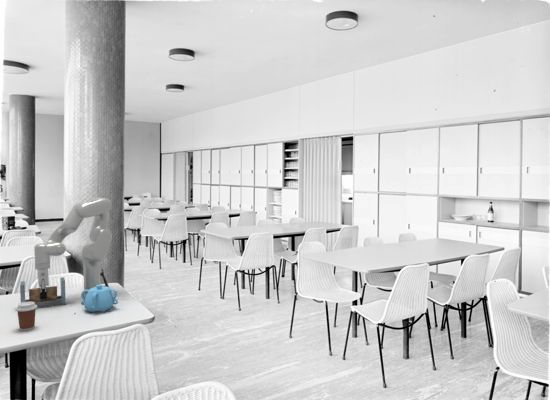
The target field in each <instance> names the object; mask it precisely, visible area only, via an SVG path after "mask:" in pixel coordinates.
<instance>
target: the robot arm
mask: <svg viewBox="0 0 550 400" xmlns="http://www.w3.org/2000/svg"><path fill="white" fill-rule="evenodd" d="M112 205H113V204H112V201H111V200H110V199H109V198H107V197H105V198H104V197H93V198H92V199H90V201H89V202H77V203H76V204H74V205H73V207H72V208H71V210H70V212H69V213H68V215H67V216H66V218H65V219H64V221H63V222H62V223H61V225H59V226H58V228H56V229H55V230H54V231H53V232H52V233H51V234H50V236H49V237H48V239H47V241H46V242H45V243H38V244H35V245H34V250H33V251H34V270H37V281H38V282H37V283H38V288H41V292H40V299H47V291H46V287H50V282H49V280H50V279H49V277H50V276H49V269H50V268H51V257H52V256H53V257H55V256H61V255H63V254H64V253H66V249H67V247H66V245H65V244H64V243H62V242H63V241H64V239H65V238H67V237H68V236H69V235H71V234H74V233H75V232H76V231H77V230H79V227H80V226H81V224H82V222H83V221H84V219H87V218H92V217H94V219H93V223H92V226H91V228H90V232H89V235H88V236H89V237H88V238H89V240H91V242H94V243H87V244H85V245H84V246H83V247H82V249H81V258H82V266H83V268H82V269H83V291H84V290H90V289H91V288H93V287H96V285H102V284H101V282H102V281H101V276H100V273H101V261H103V260H105V259H106V258H107V256H108V255H107V254H108V252H109V249H110V246H111V243H112V240H113V233H112V231H111V230H110V229H109V228H108V225H109V222H110V214H109V211H111V209H112ZM44 287H45V288H44ZM87 293H88V292H84V297H85V298H86V295H87ZM80 295H81V296H80V297H82V293H81V294H80Z"/></svg>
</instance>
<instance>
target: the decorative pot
mask: <svg viewBox="0 0 550 400" xmlns="http://www.w3.org/2000/svg"><path fill="white" fill-rule="evenodd" d="M84 292H88V293H87V295H86V298H85V297H84ZM113 292H114V294H113ZM117 293H118V291H117V290H116V289H114V288H110V287H105V285H103V284H101V285H96V287H93V288H91V289H90V290H84V289H83V291H82V292H81V294H82V300H81V302H80V305H81V306H84V309H85V310H86V311H87V312H89V313H94V312H101V313H105V312H107V310H109V309H112V307H113V306H114V305H118V303H119V301H118V299H117V295H118V294H117Z"/></svg>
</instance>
